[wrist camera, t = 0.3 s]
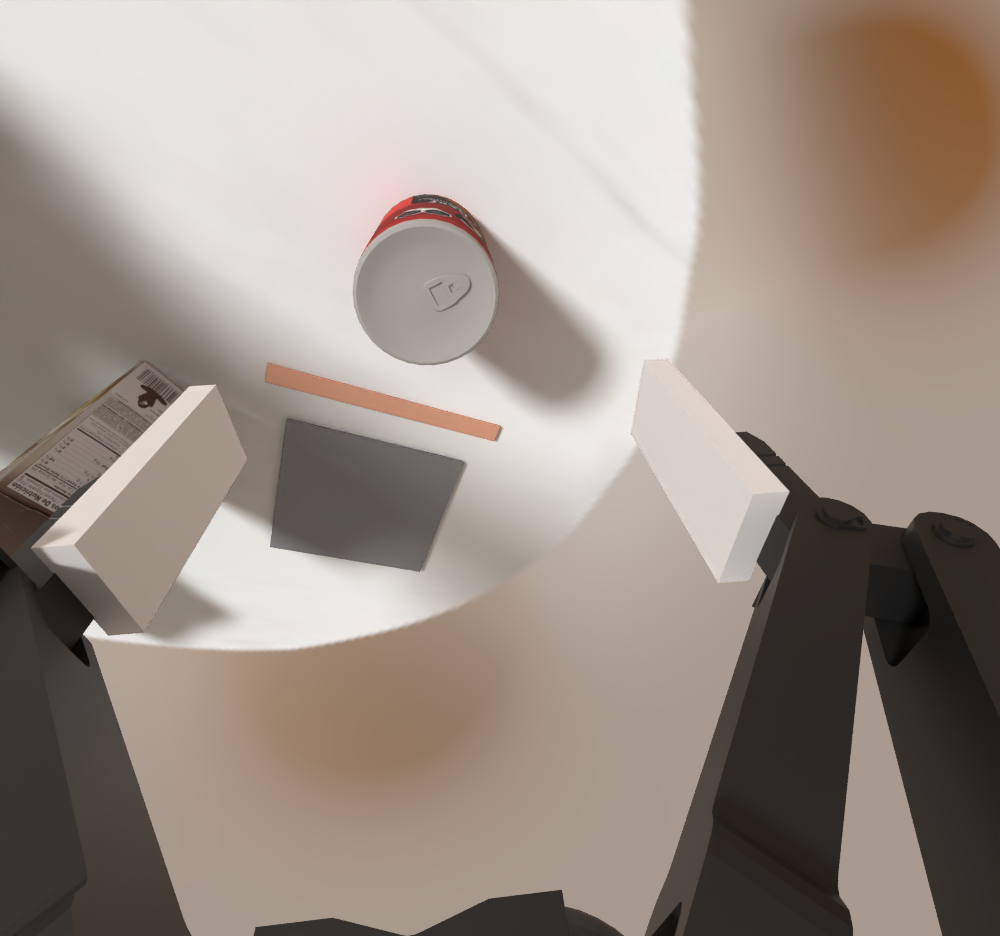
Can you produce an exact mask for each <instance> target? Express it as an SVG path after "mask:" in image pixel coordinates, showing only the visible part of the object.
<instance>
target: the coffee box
mask: <svg viewBox="0 0 1000 936" xmlns="http://www.w3.org/2000/svg"><path fill="white" fill-rule="evenodd" d="M182 393H183V391H182V390H181V389H180V388H178V387H177V386H176V385H175V384H173V383H172V382H171V381H170V380H168V379H167V378H166V377H165V376H163V375H162V374H161V373H160V372H158V371H157V370H156V369H155V368H154V367H152V366H151V365H150V364H149V363H147V362H146V361H142V362H141V363H139V364H138V365H136V366H135V367H134V368H132V369H131V370H130V371H128V372H127V373H125V374H124V375H123V376H121V377H120V378H119V379H117V380H116V381H115V382H113V383H112V384H111V385H109V386H108V387H107V388H106V389H104V390H103V391H102V392H100V393H99V394H98V395H96V396H95V397H94V398H93V399H91V400H90V401H89V402H87V403H86V404H85V405H83V406H82V407H81V408H79V409H78V410H77V411H76V412H74V413H73V414H72V415H71V416H69V417H68V418H67V419H65V420H64V421H63V422H62V423H60V424H59V425H58V426H57V427H55V428H54V429H53V430H52V431H50V432H49V433H48V434H47V435H45V436H44V437H43V438H42V439H40V440H39V441H38V442H37V443H35V444H34V445H33V446H32V447H30V448H29V449H28V450H27V451H25V452H24V453H23V454H22V455H20V456H19V457H18V458H17V459H15V460H14V461H13V462H12V463H11V464H9V465H8V466H7V467H6V468H4V469H3V470H2V471H1V472H0V547H1V548H2V549H3V550H4V551H5V552H6V553H7V554H8V555H9V556H11V555H12V554H13V553H14V552H15V551H16V550H17V549H18V548H19V547H20V546H21V545H22V544H23V543H24V542H25V541H26V540H27V539H28V538H29V537H30V536H31V535H32V534H33V533H34V532H35V531H36V530H37V529H38V528H39V527H40V526H41V525H42V524H43V523H44V522H45V521H46V520H50V518H49V517H50V516H51V515H52V514H53V513H54V512H55V511H56V510H57V509H58V508H62V504H63V503H64V502H65V501H66V500H67V499H68V498H69V497H70V496H71V495H72V494H73V493H74V492H75V491H76V490H78V489H79V488H81V487H83V486H84V485H86V484H87V483H89V482H91V481H92V480H94V479H95V478H97V477H99V476H102V475H103V474H104V473H105V472H106V471H107V470H108V469H109V468H110V467H111V466H112V465H113V464H114V463H115V462H116V461H117V460H118V459H119V458H120V457H121V456H122V455H123V454H124V453H125V452H126V450H127V449H128V448H129V447H130V446H131V445H132V444H133V443H134V442H135V441H136V440H137V439H138V438H139V437H140V436H141V435H142V434H143V433H144V432H145V431H146V430H147V429H148V428H149V427H150V426H151V425H152V424H153V423H154V422H155V421H156V420H157V419H158V418H159V417H160V416H161V415H162V414H163V413H164V412H165V411H166V410H167V409H168V408H169V407H170V406H171V405H172V404H173V403H174V402H175V401H176V400H177V399H178V398H179V397H180V395H181V394H182Z"/></svg>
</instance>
